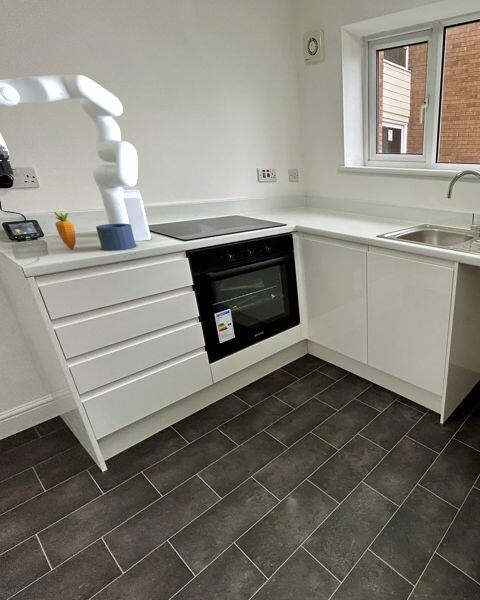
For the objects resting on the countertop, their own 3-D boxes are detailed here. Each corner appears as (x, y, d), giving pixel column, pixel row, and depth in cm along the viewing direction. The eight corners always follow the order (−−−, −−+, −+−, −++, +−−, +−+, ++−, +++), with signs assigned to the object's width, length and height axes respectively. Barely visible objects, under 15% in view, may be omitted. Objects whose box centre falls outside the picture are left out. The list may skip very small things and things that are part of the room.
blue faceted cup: (122, 243, 153) (117, 222, 149) (142, 246, 150) (137, 224, 146) (95, 248, 143) (88, 226, 139) (115, 251, 140) (109, 229, 136)
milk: (149, 240, 160) (138, 190, 152) (133, 241, 157) (121, 190, 149) (151, 237, 165) (140, 189, 157) (135, 238, 162) (123, 189, 154)
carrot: (83, 248, 142) (72, 211, 137) (71, 251, 138) (59, 212, 132) (72, 247, 143) (60, 210, 137) (60, 250, 138) (47, 212, 133)
